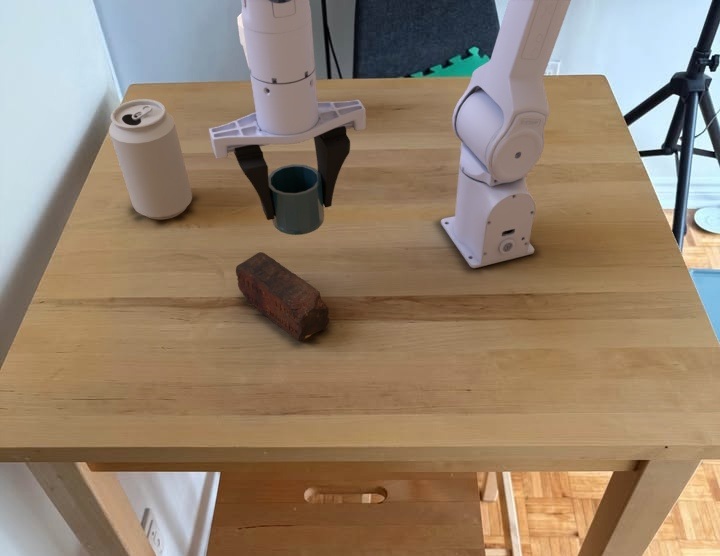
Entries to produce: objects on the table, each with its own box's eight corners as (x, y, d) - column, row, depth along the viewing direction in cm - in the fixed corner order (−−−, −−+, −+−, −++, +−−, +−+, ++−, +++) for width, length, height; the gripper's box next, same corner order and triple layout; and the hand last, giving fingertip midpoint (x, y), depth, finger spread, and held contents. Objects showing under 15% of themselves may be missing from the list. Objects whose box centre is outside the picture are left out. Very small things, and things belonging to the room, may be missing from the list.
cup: (331, 228, 73) (328, 188, 69) (279, 239, 72) (273, 200, 68) (316, 199, 76) (313, 159, 72) (266, 210, 75) (260, 170, 71)
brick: (240, 300, 79) (232, 265, 75) (267, 283, 81) (261, 248, 77) (303, 347, 75) (299, 313, 71) (331, 328, 76) (328, 293, 72)
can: (123, 204, 90) (92, 110, 81) (174, 181, 93) (149, 87, 83) (153, 231, 87) (124, 135, 77) (205, 206, 90) (183, 111, 80)
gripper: (347, 35, 65) (352, 173, 76) (191, 62, 63) (220, 201, 74) (372, 69, 61) (374, 209, 72) (207, 100, 59) (235, 240, 70)
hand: (297, 207), depth 73 cm, fingers closed on cup, 5 cm apart
